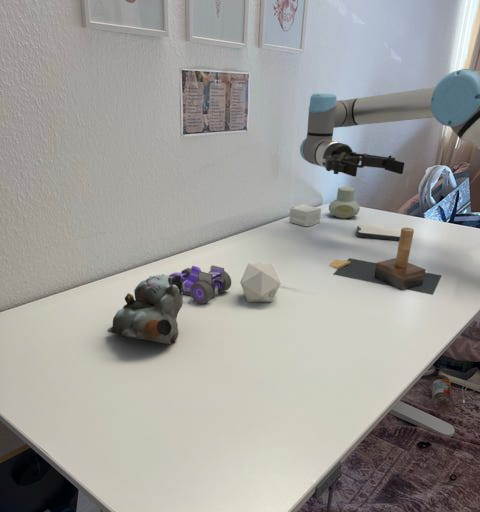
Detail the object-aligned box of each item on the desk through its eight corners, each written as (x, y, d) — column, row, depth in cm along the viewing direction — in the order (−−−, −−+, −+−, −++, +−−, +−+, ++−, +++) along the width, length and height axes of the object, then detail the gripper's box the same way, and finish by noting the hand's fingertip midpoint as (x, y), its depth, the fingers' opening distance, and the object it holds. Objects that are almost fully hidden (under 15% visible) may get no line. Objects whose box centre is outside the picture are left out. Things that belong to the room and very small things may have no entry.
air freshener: (357, 214, 176) (361, 187, 171) (358, 220, 169) (362, 191, 164) (327, 212, 178) (330, 185, 173) (327, 218, 170) (330, 189, 166)
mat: (440, 279, 121) (441, 275, 121) (432, 298, 110) (432, 294, 110) (348, 261, 131) (349, 258, 131) (332, 277, 120) (332, 274, 120)
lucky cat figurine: (100, 329, 93) (118, 260, 93) (158, 340, 99) (174, 275, 99) (120, 342, 80) (140, 262, 80) (185, 355, 86) (204, 280, 86)
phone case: (406, 234, 155) (356, 229, 158) (407, 229, 155) (357, 224, 158) (408, 243, 148) (356, 237, 151) (410, 238, 147) (357, 232, 150)
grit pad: (350, 263, 126) (350, 261, 125) (338, 269, 123) (337, 266, 123) (335, 261, 130) (335, 259, 129) (323, 267, 127) (323, 264, 127)
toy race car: (181, 277, 118) (180, 252, 115) (231, 292, 111) (232, 265, 108) (155, 290, 111) (153, 264, 108) (207, 306, 104) (207, 278, 101)
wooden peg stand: (422, 285, 115) (433, 232, 109) (402, 290, 111) (412, 236, 105) (394, 272, 121) (403, 222, 116) (374, 277, 118) (382, 226, 112)
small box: (320, 222, 165) (321, 208, 163) (306, 227, 160) (308, 212, 157) (302, 218, 170) (303, 203, 167) (288, 222, 165) (289, 207, 162)
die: (266, 314, 102) (292, 274, 102) (231, 292, 102) (256, 252, 101) (263, 310, 111) (286, 274, 110) (230, 290, 110) (253, 253, 109)
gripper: (370, 168, 141) (418, 182, 123) (294, 172, 133) (333, 187, 115) (374, 141, 137) (423, 151, 119) (296, 143, 129) (336, 155, 111)
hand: (379, 169), depth 117 cm, fingers open, 13 cm apart
